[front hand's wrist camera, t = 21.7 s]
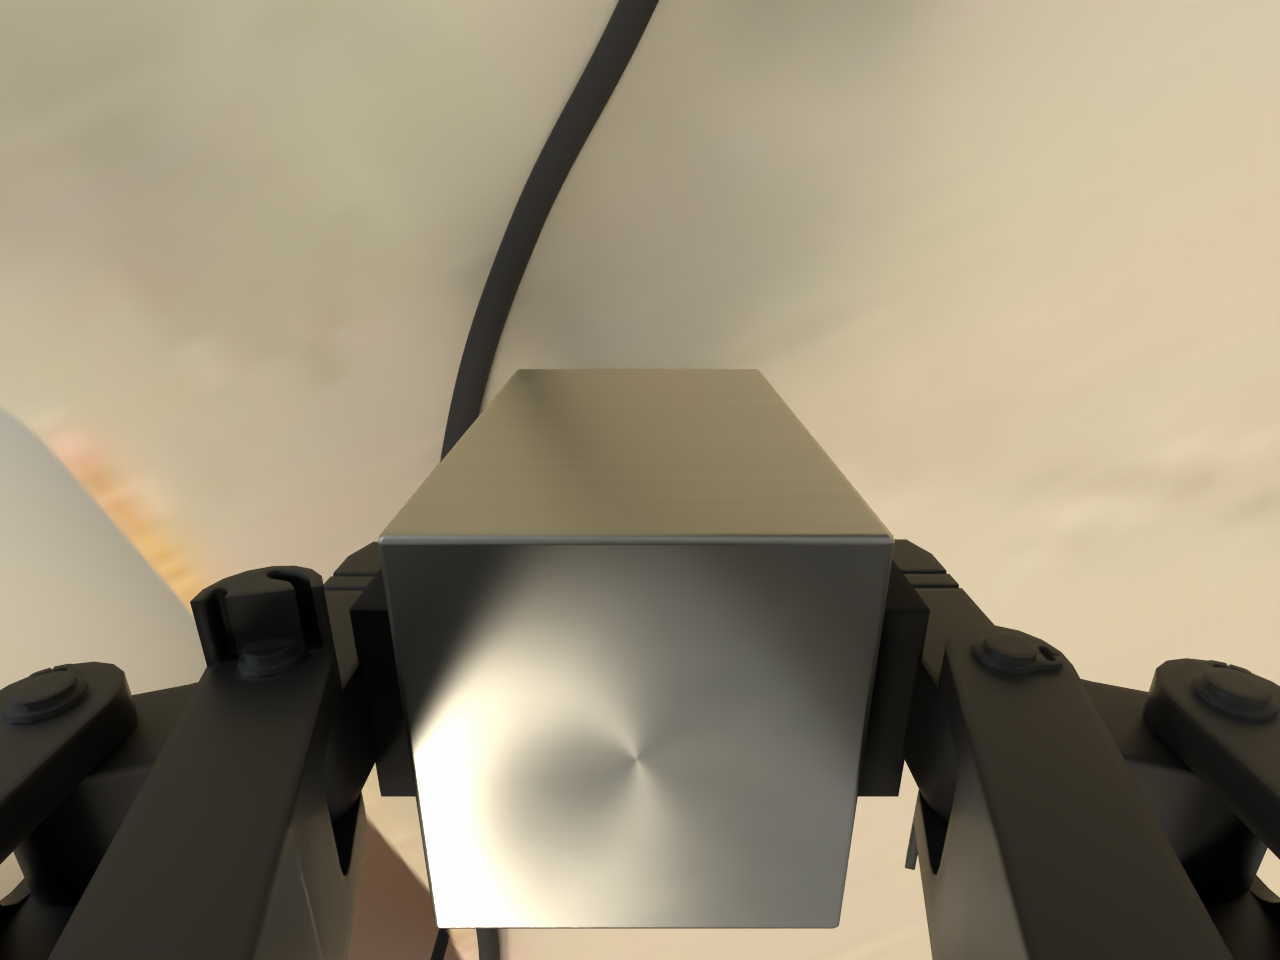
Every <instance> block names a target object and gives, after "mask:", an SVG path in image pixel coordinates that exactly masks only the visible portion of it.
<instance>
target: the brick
mask: <svg viewBox="0 0 1280 960" xmlns="http://www.w3.org/2000/svg"><path fill="white" fill-rule="evenodd" d="M894 543H895V541H894V538H893V535H892V534H891V533H890V531H889V530H888V529H887V528H886V527H885V525H884V524H883V523H882V522H881V520H880V519H879V518H878V517H877V515H876V514H875V513H874V512H873V510H872V509H871V508H870V507H869V506H868V504H867V503H866V502H865V501H864V499H863V498H862V497H861V496H860V494H859V493H858V492H857V491H856V489H855V488H854V487H853V486H852V485H851V483H850V482H849V481H848V480H847V478H846V477H845V476H844V475H843V473H842V472H841V471H840V470H839V468H838V467H837V466H836V465H835V464H834V462H833V461H832V460H831V459H830V457H829V456H828V455H827V454H826V452H825V451H824V450H823V449H822V447H821V446H820V445H819V444H818V443H817V441H816V440H815V439H814V438H813V436H812V435H811V434H810V433H809V431H808V430H807V429H806V428H805V426H804V425H803V424H802V423H801V422H800V420H799V419H798V418H797V417H796V415H795V414H794V413H793V412H792V410H791V409H790V408H789V407H788V405H787V404H786V403H785V402H784V401H783V399H782V398H781V397H780V396H779V394H778V393H777V392H776V391H775V389H774V388H773V387H772V386H771V384H770V383H769V382H768V381H767V380H766V378H765V377H764V376H763V375H762V373H761V372H760V371H759V370H757V369H520V370H517V371H516V372H515V373H514V375H513V376H512V377H511V378H510V379H509V381H508V382H507V383H506V384H505V385H504V387H503V388H502V389H501V390H500V391H499V393H498V394H497V395H496V396H495V397H494V399H493V400H492V401H491V402H490V403H489V405H488V406H487V407H486V408H485V409H484V411H483V412H482V413H481V414H480V415H479V417H478V418H477V419H476V420H475V421H474V423H473V424H472V425H471V426H470V427H469V429H468V430H467V431H466V432H465V433H464V435H463V436H462V437H461V438H460V439H459V441H458V442H457V443H456V444H455V445H454V447H453V448H452V449H451V450H450V451H449V453H448V454H447V455H446V456H445V458H444V459H443V460H442V461H441V462H440V464H439V465H438V466H437V467H436V468H435V470H434V471H433V472H432V473H431V474H430V476H429V477H428V478H427V479H426V480H425V482H424V483H423V484H422V485H421V486H420V488H419V489H418V490H417V491H416V492H415V494H414V495H413V496H412V497H411V498H410V500H409V501H408V502H407V503H406V504H405V506H404V507H403V508H402V509H401V510H400V512H399V513H398V514H397V515H396V516H395V518H394V519H393V520H392V521H391V522H390V524H389V525H388V526H387V527H386V528H385V530H384V531H383V532H382V533H381V534H380V536H379V539H378V547H379V554H380V561H381V567H382V574H383V581H384V588H385V594H386V601H387V608H388V614H389V621H390V628H391V634H392V641H393V648H394V654H395V661H396V668H397V674H398V681H399V688H400V695H401V701H402V708H403V715H404V721H405V728H406V735H407V741H408V748H409V755H410V761H411V768H412V775H413V782H414V788H415V795H416V802H417V808H418V815H419V822H420V828H421V835H422V842H423V848H424V855H425V862H426V869H427V875H428V882H429V889H430V895H431V902H432V908H433V915H434V922H435V926H436V927H438V928H836V927H838V925H839V921H840V914H841V907H842V900H843V894H844V887H845V880H846V873H847V866H848V859H849V852H850V845H851V839H852V832H853V825H854V818H855V811H856V804H857V797H858V790H859V783H860V777H861V770H862V763H863V756H864V749H865V742H866V735H867V728H868V722H869V715H870V708H871V701H872V694H873V687H874V680H875V673H876V666H877V660H878V653H879V646H880V639H881V632H882V625H883V618H884V611H885V605H886V598H887V591H888V584H889V577H890V570H891V563H892V556H893V549H894Z"/></svg>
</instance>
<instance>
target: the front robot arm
mask: <svg viewBox="0 0 1280 960" xmlns="http://www.w3.org/2000/svg"><path fill="white" fill-rule="evenodd" d="M658 1H659V0H619V2H618V4H617V6H616V8H615V10H614V13H613V15H612V17H611V19H610V21H609V23H608V25H607V27H606V29H605V31H604V33H603V35H602V37H601V39H600V41H599V43H598V45H597V47H596V49H595V51H594V53H593V55H592V57H591V59H590V61H589V63H588V65H587V67H586V69H585V71H584V72H583V74H582V76H581V78H580V80H579V82H578V84H577V86H576V88H575V89H574V91H573V93H572V95H571V97H570V99H569V101H568V102H567V104H566V106H565V108H564V110H563V112H562V114H561V115H560V117H559V119H558V121H557V123H556V125H555V127H554V129H553V130H552V132H551V134H550V136H549V138H548V140H547V142H546V144H545V146H544V148H543V150H542V152H541V154H540V156H539V158H538V160H537V162H536V164H535V166H534V168H533V170H532V172H531V174H530V176H529V178H528V181H527V183H526V185H525V187H524V189H523V191H522V194H521V196H520V198H519V201H518V203H517V205H516V207H515V210H514V212H513V215H512V217H511V220H510V222H509V225H508V227H507V230H506V232H505V235H504V237H503V240H502V242H501V245H500V247H499V250H498V253H497V255H496V258H495V260H494V263H493V266H492V268H491V271H490V274H489V276H488V279H487V282H486V285H485V287H484V290H483V293H482V296H481V299H480V301H479V304H478V307H477V310H476V313H475V316H474V319H473V322H472V326H471V329H470V332H469V335H468V339H467V342H466V345H465V349H464V352H463V356H462V360H461V363H460V367H459V371H458V375H457V379H456V384H455V388H454V392H453V397H452V401H451V406H450V411H449V416H448V421H447V426H446V431H445V437H444V442H443V448H442V454H441V460H440V462H441V461H442V460H443V459H444V458H445V456H446V455H447V454H448V453H449V451H450V450H451V449H452V448H453V447H454V445H455V444H456V443H457V442H458V441H459V439H460V438H461V437H462V436H463V435H464V433H465V432H466V431H467V430H468V429H469V427H470V426H471V425H472V424H473V423H474V421H475V420H476V419H477V418H478V414H479V410H480V405H481V401H482V397H483V393H484V389H485V385H486V381H487V378H488V374H489V370H490V367H491V364H492V360H493V357H494V354H495V350H496V347H497V344H498V341H499V338H500V335H501V332H502V329H503V326H504V323H505V321H506V318H507V315H508V312H509V309H510V307H511V304H512V301H513V299H514V296H515V294H516V291H517V288H518V286H519V283H520V281H521V278H522V276H523V273H524V271H525V268H526V266H527V263H528V261H529V258H530V256H531V253H532V251H533V248H534V246H535V243H536V241H537V239H538V236H539V234H540V232H541V229H542V227H543V225H544V222H545V220H546V218H547V216H548V214H549V211H550V209H551V207H552V205H553V203H554V201H555V199H556V197H557V194H558V192H559V190H560V188H561V186H562V184H563V182H564V180H565V178H566V177H567V175H568V173H569V171H570V169H571V167H572V165H573V163H574V161H575V159H576V158H577V156H578V154H579V152H580V150H581V148H582V146H583V145H584V143H585V141H586V139H587V137H588V136H589V134H590V132H591V130H592V128H593V127H594V125H595V123H596V121H597V119H598V118H599V116H600V114H601V112H602V110H603V109H604V107H605V105H606V103H607V101H608V100H609V98H610V96H611V94H612V92H613V90H614V89H615V87H616V85H617V83H618V81H619V79H620V77H621V76H622V74H623V72H624V70H625V68H626V66H627V64H628V62H629V60H630V58H631V56H632V54H633V52H634V50H635V48H636V46H637V44H638V42H639V40H640V38H641V36H642V34H643V32H644V30H645V28H646V26H647V24H648V22H649V20H650V18H651V16H652V13H653V11H654V9H655V7H656V5H657V3H658ZM894 541H895V543H894V549H893V556H892V563H891V570H890V577H889V584H888V591H887V598H886V605H885V611H884V618H883V625H882V632H881V639H880V646H879V653H878V660H877V666H876V673H875V680H874V687H873V694H872V701H871V708H870V715H869V722H868V728H867V735H866V742H865V749H864V756H863V763H862V770H861V777H860V783H859V790H858V796H898V795H899V789H900V783H901V777H902V771H903V766H904V760H905V761H906V763H907V765H908V767H909V769H910V771H911V773H912V775H913V777H914V779H915V781H916V783H917V786H918V788H919V791H918V796H917V802H916V807H915V813H914V818H913V823H912V829H911V834H910V840H909V845H908V850H907V857H906V864H905V868H908V869H912V870H915V865H916V860H917V855H918V856H919V864H920V871H921V878H922V885H923V893H924V900H925V907H926V914H927V922H928V929H929V936H930V943H931V951H932V958H933V960H1280V898H1279V897H1278V896H1277V895H1276V894H1275V893H1273V892H1272V891H1271V890H1270V889H1269V888H1268V887H1267V886H1266V885H1265V884H1264V883H1263V882H1262V881H1261V880H1260V879H1259V877H1258V876H1257V875H1256V873H1257V871H1258V869H1259V866H1260V864H1261V862H1262V859H1263V857H1264V855H1265V852H1266V850H1267V848H1269V849H1270V850H1271V851H1272V852H1273V853H1274V854H1275V855H1276V856H1277V857H1278V858H1279V859H1280V686H1278V685H1277V684H1275V683H1273V682H1272V681H1269V680H1267V679H1264V678H1262V677H1260V676H1257V675H1255V674H1252V673H1251V672H1250V671H1248V670H1246V669H1244V668H1241V667H1238V666H1234V665H1231V664H1230V666H1228V665H1227V664H1226V663H1223V662H1218V661H1212V660H1209V661H1206V660H1197V659H1188V658H1185V659H1177V660H1169V661H1166V662H1165V663H1163V664H1162V665H1160V666H1159V667H1158V668H1156V671H1155V674H1154V677H1153V681H1152V684H1151V687H1150V690H1149V692H1145V691H1139V690H1134V689H1129V688H1123V687H1118V686H1113V685H1107V684H1102V683H1097V682H1091V681H1087V680H1083V679H1080V678H1079V676H1078V674H1077V672H1076V670H1075V668H1074V667H1073V665H1072V664H1071V663H1070V662H1069V660H1068V659H1067V658H1066V657H1065V656H1064V655H1063V654H1062V652H1060V651H1059V650H1057V649H1056V648H1054V647H1052V646H1051V645H1049V644H1048V643H1046V642H1045V641H1043V640H1041V639H1039V638H1036V637H1034V636H1031V635H1029V634H1026V633H1024V632H1021V631H1018V630H1013V629H1009V628H1004V627H1000V626H995V625H994V624H993V623H992V622H991V621H990V620H989V619H988V617H987V616H986V615H985V614H984V613H983V612H982V611H981V609H980V608H979V607H978V606H977V605H976V604H975V603H974V602H973V600H972V599H971V598H970V597H969V596H968V595H967V594H966V592H965V591H964V590H963V589H962V588H959V584H958V583H957V582H956V581H955V580H954V579H953V578H952V577H951V575H950V574H946V570H945V569H944V567H943V566H942V565H941V564H940V563H939V562H938V561H937V559H936V558H935V557H934V556H933V555H932V554H931V553H929V552H927V551H926V550H924V549H922V548H920V547H919V546H917V545H915V544H913V543H911V542H910V541H908V540H894ZM190 603H191V607H192V611H193V615H194V618H195V622H196V626H197V630H198V633H199V637H200V641H201V645H202V648H203V652H204V656H205V660H206V663H207V668H206V670H205V672H204V673H203V675H202V677H201V679H200V681H199V682H197V683H193V684H190V685H184V686H179V687H174V688H168V689H163V690H158V691H153V692H147V693H142V694H137V695H131V692H130V689H129V686H128V683H127V680H126V676H125V673H124V671H122V670H121V669H119V668H118V667H117V666H115V665H114V664H108V663H100V662H87V663H79V664H65V665H60V666H55V667H54V669H51V668H48V669H44V670H41V671H38V672H35V673H33V674H31V675H30V676H29V677H27V678H25V679H22V680H20V681H17V682H15V683H13V684H10V685H8V686H7V687H5V688H3V689H2V690H0V864H1V863H2V862H3V861H4V860H5V859H6V858H7V857H8V856H9V855H10V854H11V853H12V852H14V854H15V856H16V859H17V861H18V863H19V866H20V868H21V870H22V873H23V875H24V877H25V878H24V879H23V880H22V881H21V882H20V883H19V884H18V886H17V887H16V888H15V889H14V890H13V891H12V892H11V893H10V894H8V895H7V896H6V897H4V898H3V899H2V900H1V901H0V960H348V952H349V945H350V938H351V931H352V923H353V916H354V909H355V902H356V894H357V887H358V880H359V873H360V865H361V858H362V851H363V843H364V836H365V829H366V814H365V807H364V802H363V796H362V791H361V790H362V788H363V786H364V784H365V782H366V780H367V778H368V776H369V774H370V772H371V770H372V768H373V766H374V764H375V763H376V769H377V774H378V780H379V786H380V792H381V796H416V795H415V788H414V782H413V775H412V768H411V761H410V755H409V748H408V741H407V735H406V728H405V721H404V715H403V708H402V701H401V695H400V688H399V681H398V674H397V668H396V661H395V654H394V648H393V641H392V634H391V628H390V621H389V614H388V608H387V601H386V594H385V588H384V581H383V574H382V567H381V561H380V554H379V547H378V542H372V543H371V544H369V545H367V546H365V547H364V548H362V549H360V550H358V551H357V552H355V553H353V554H351V555H350V556H348V557H347V558H346V559H345V561H344V562H343V563H342V564H341V565H340V566H339V567H338V569H337V570H336V571H335V572H334V575H333V577H330V578H329V579H328V580H327V581H326V582H325V584H324V585H323V580H322V576H321V575H319V574H318V573H317V572H315V571H314V570H312V569H309V568H303V567H298V566H271V567H266V568H260V569H255V570H249V571H245V572H242V573H239V574H236V575H233V576H230V577H227V578H224V579H222V580H220V581H218V582H216V583H215V584H213V585H211V586H209V587H207V588H205V589H203V590H202V591H201V592H200V593H199V594H198V595H197V596H196V597H195V598H194V599H192V600H191V601H190ZM476 931H477V939H478V948H479V960H500V959H499V944H498V933H497V928H476ZM450 934H451V932H450V929H449V928H439V931H438V935H437V938H436V942H435V945H434V949H433V952H432V956H431V959H430V960H444V956H445V952H446V948H447V945H448V941H449V937H450Z"/></svg>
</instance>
